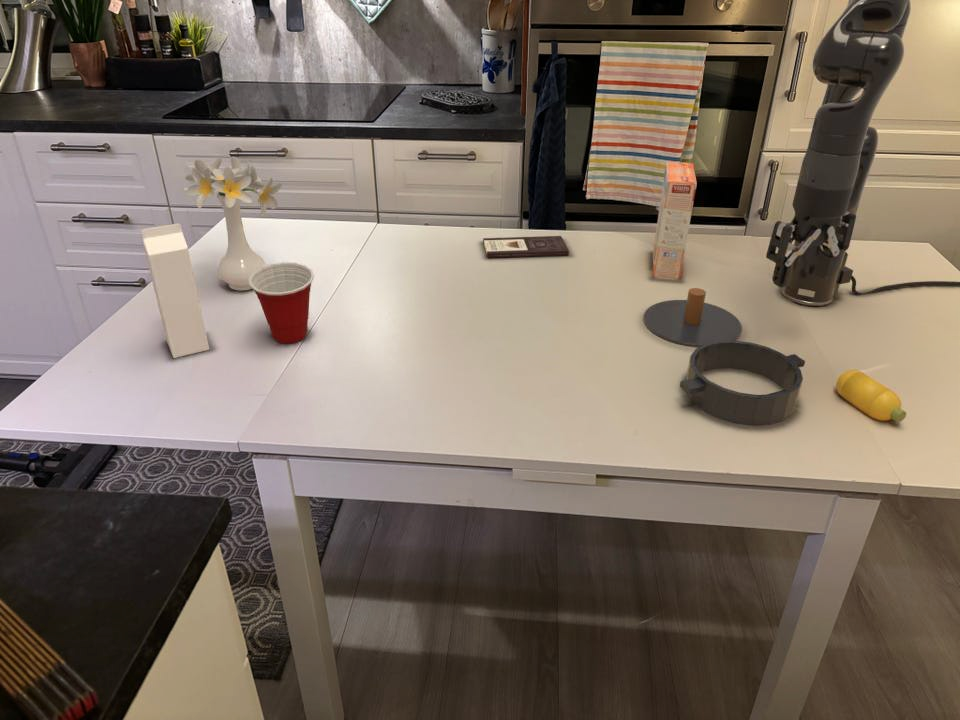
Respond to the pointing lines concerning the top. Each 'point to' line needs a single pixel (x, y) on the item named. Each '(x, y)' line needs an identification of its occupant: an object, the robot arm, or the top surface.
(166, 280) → the milk
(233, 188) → the flower vase
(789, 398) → the pan
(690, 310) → the lid
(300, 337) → the plastic cup
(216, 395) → the top surface
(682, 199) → the cracker box
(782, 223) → the robot arm
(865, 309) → the top surface
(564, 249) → the chocolate bar
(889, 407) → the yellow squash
